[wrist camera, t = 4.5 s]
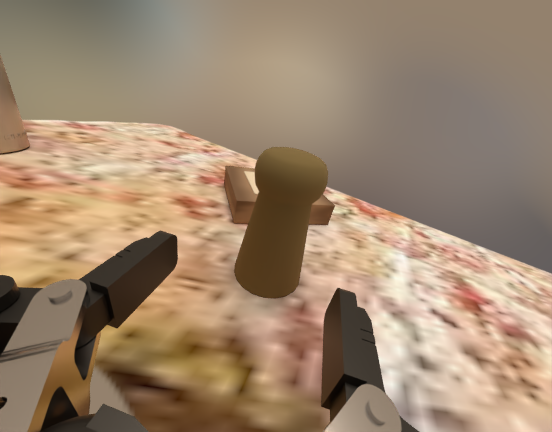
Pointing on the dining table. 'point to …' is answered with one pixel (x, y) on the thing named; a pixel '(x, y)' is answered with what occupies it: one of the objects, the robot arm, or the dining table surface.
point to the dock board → (246, 192)
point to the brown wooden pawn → (279, 221)
